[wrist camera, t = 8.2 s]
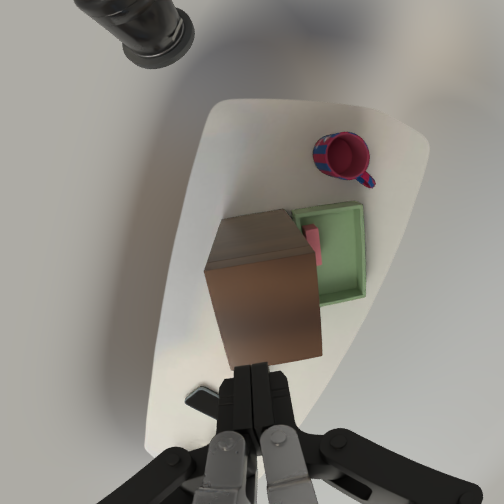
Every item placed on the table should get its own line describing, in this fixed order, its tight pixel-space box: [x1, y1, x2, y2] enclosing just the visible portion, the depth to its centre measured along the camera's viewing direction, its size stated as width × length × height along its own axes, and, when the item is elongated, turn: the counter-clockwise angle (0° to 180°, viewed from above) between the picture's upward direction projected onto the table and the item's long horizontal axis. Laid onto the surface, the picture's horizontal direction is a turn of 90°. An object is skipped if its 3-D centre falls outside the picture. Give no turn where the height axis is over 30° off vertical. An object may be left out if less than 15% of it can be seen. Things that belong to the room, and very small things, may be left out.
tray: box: [291, 201, 366, 307], centre depth 46 cm, size 16×11×4 cm
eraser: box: [302, 224, 322, 266], centre depth 45 cm, size 6×3×2 cm
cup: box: [313, 132, 376, 188], centre depth 39 cm, size 7×10×7 cm
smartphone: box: [185, 387, 219, 420], centre depth 59 cm, size 7×1×15 cm
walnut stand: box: [204, 209, 322, 371], centre depth 37 cm, size 12×10×21 cm
